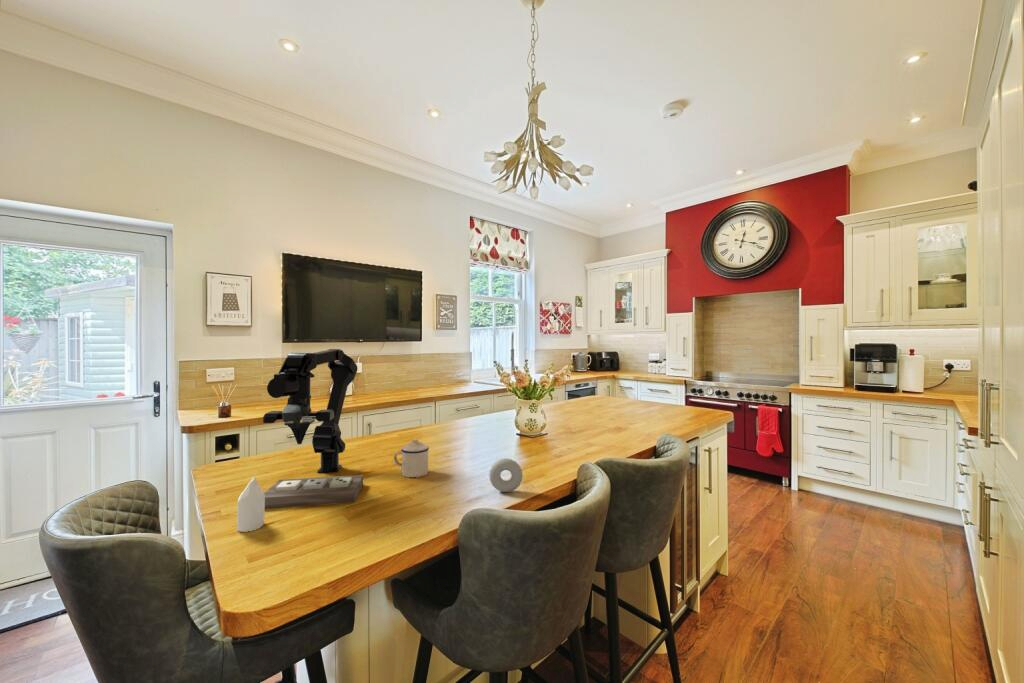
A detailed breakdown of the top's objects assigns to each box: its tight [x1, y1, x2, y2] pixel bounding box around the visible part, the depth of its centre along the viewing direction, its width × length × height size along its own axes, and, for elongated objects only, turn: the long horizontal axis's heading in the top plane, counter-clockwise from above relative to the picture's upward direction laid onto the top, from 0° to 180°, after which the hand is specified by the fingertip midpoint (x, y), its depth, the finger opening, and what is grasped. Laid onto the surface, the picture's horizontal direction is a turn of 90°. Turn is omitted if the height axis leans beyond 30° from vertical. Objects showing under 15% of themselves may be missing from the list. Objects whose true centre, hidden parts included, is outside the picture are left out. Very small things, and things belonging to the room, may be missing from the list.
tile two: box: [303, 479, 327, 490], centre depth 114 cm, size 5×5×3 cm
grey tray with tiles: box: [264, 474, 364, 510], centre depth 114 cm, size 14×24×3 cm, turn 101°
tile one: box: [276, 480, 301, 491], centre depth 113 cm, size 5×5×3 cm
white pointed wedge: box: [236, 476, 266, 533], centre depth 95 cm, size 6×12×6 cm
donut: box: [489, 458, 524, 493], centre depth 118 cm, size 10×4×10 cm, turn 89°
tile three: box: [330, 477, 352, 488], centre depth 116 cm, size 5×5×3 cm
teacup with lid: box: [393, 438, 430, 479], centre depth 134 cm, size 12×9×12 cm
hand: (299, 444), depth 122 cm, fingers closed
